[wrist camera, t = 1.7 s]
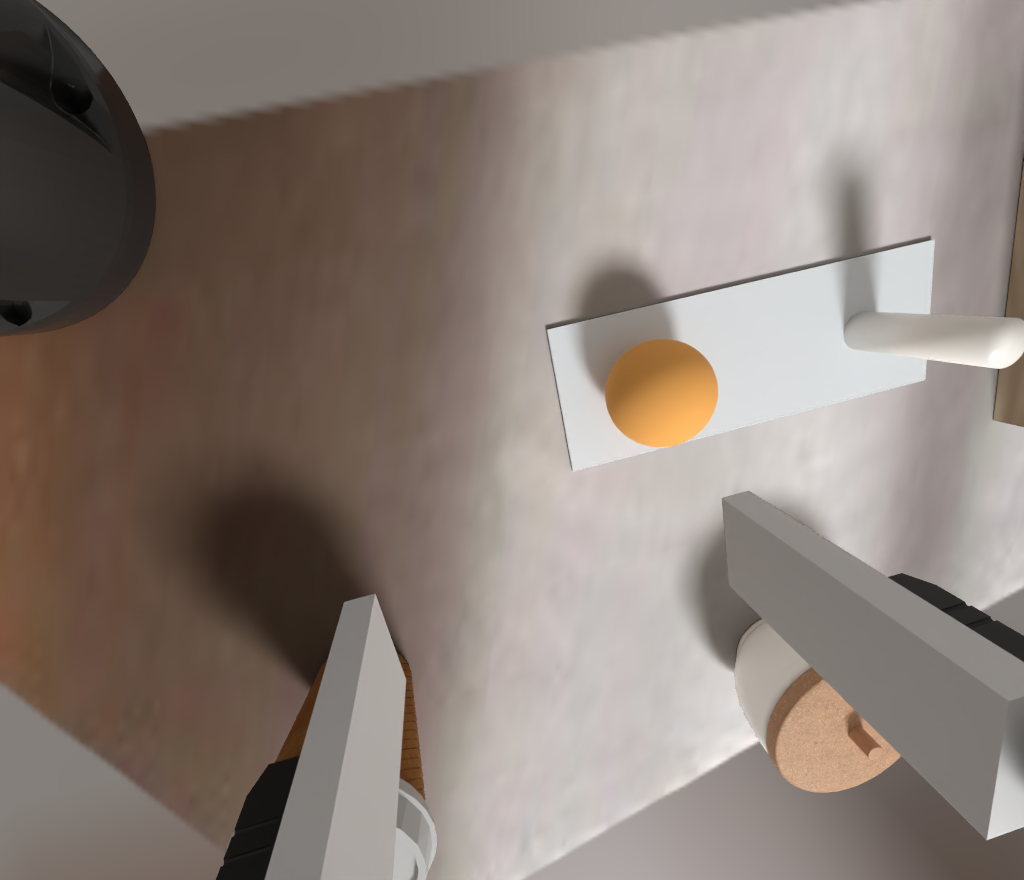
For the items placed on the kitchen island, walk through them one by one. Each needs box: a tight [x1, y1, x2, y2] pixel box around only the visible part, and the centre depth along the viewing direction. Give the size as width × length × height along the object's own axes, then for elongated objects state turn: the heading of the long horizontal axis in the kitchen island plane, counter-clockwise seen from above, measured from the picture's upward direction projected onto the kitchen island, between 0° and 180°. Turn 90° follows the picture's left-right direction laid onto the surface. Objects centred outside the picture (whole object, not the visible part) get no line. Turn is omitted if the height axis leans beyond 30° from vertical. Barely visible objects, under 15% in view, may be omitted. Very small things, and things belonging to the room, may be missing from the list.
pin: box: [844, 312, 1024, 369], centre depth 27 cm, size 2×2×8 cm
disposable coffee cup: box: [226, 652, 437, 880], centre depth 27 cm, size 10×10×12 cm
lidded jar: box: [734, 618, 901, 792], centre depth 33 cm, size 11×11×9 cm
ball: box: [605, 339, 718, 447], centre depth 27 cm, size 6×6×6 cm
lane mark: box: [547, 240, 935, 471], centre depth 30 cm, size 25×9×1 cm, turn 102°
